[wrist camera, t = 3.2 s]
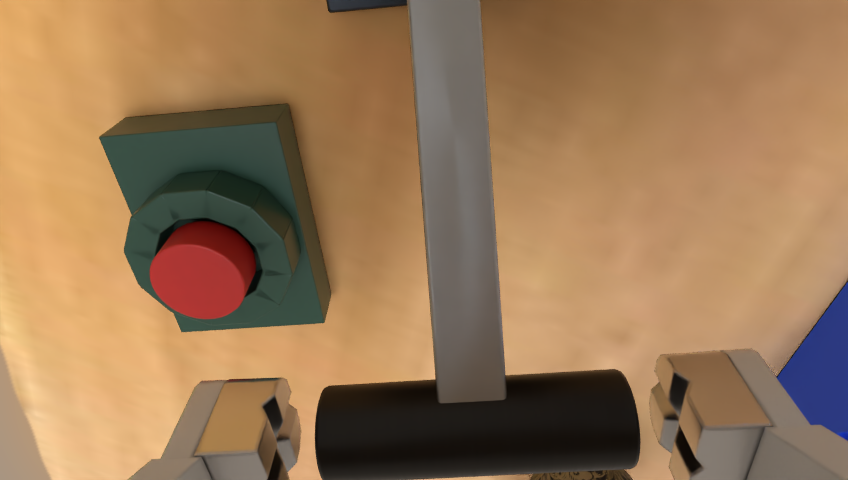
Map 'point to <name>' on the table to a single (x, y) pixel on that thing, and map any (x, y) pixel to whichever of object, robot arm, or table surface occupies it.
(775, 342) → the table surface
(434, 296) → the lever
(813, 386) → the bracket
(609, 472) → the cup
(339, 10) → the bracket
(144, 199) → the button block
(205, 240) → the button
